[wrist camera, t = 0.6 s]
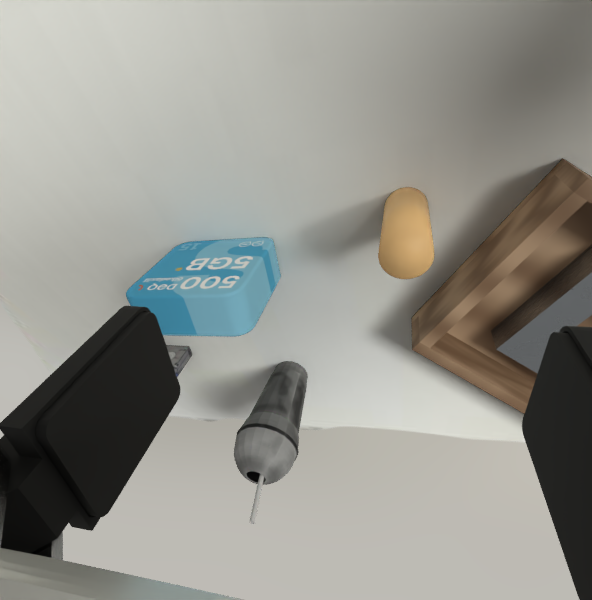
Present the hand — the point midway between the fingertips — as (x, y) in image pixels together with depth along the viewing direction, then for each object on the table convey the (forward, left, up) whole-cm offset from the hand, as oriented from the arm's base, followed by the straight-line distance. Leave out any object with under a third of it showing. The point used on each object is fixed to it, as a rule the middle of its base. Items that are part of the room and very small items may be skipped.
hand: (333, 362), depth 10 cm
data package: (+20, -7, -30) cm, 37 cm away
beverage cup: (+32, +7, -30) cm, 44 cm away
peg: (+5, +6, -30) cm, 31 cm away
